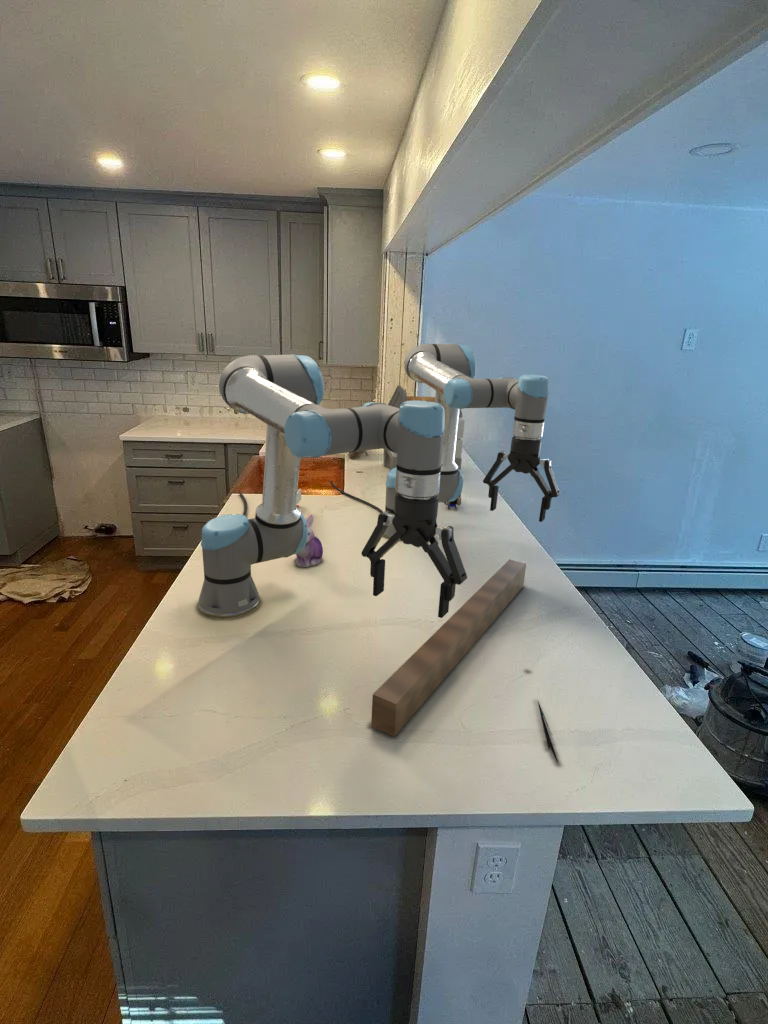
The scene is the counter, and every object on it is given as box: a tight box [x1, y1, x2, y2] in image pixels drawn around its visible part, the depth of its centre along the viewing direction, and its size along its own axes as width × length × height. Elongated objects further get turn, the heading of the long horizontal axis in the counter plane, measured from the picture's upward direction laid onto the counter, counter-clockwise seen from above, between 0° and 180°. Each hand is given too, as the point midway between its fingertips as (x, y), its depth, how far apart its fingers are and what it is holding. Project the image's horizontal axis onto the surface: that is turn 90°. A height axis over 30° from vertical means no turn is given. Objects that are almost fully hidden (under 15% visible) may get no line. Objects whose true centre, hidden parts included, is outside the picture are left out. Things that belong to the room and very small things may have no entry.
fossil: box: [348, 450, 369, 460], centre depth 302 cm, size 22×10×15 cm
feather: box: [527, 669, 559, 763], centre depth 113 cm, size 2×28×2 cm
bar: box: [370, 559, 527, 737], centre depth 135 cm, size 74×5×7 cm, turn 149°
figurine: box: [295, 513, 324, 568], centre depth 172 cm, size 9×10×15 cm
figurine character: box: [444, 493, 462, 510], centre depth 230 cm, size 7×8×15 cm
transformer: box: [383, 384, 465, 472], centre depth 268 cm, size 34×33×41 cm
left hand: (409, 603), depth 104 cm, fingers open, 13 cm apart
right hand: (516, 514), depth 153 cm, fingers open, 13 cm apart
